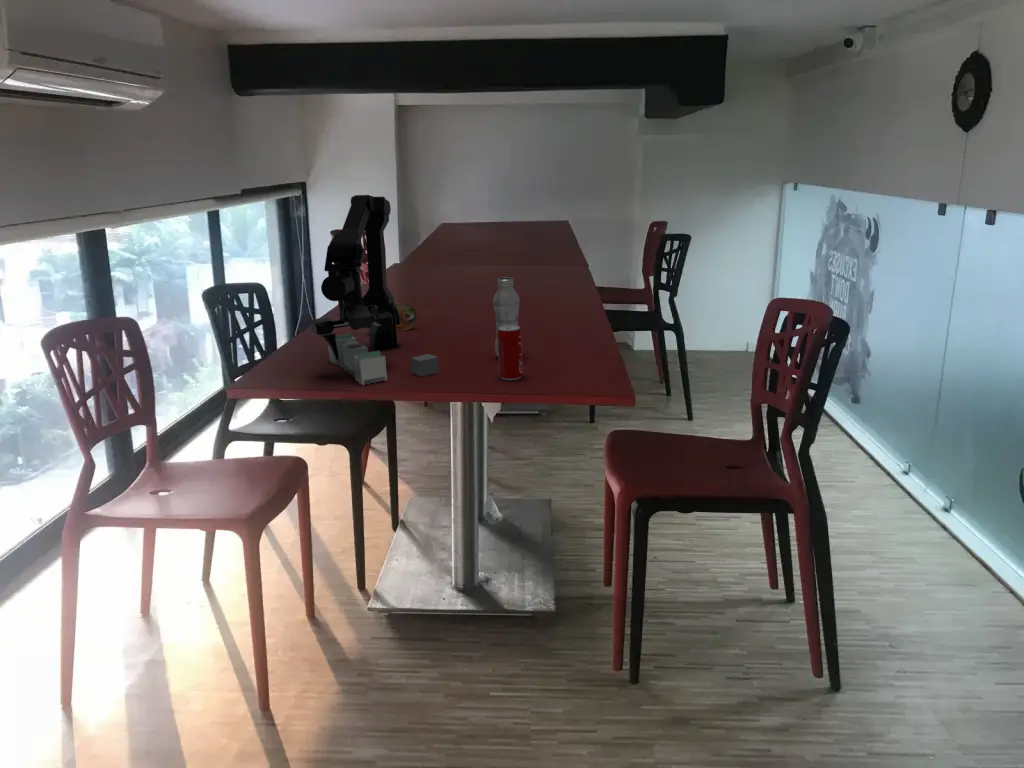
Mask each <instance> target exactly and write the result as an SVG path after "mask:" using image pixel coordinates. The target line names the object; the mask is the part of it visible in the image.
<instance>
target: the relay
mask: <svg viewBox="0 0 1024 768" xmlns="http://www.w3.org/2000/svg"><path fill="white" fill-rule="evenodd" d="M410 361H411V365H410V366H411V374H412V373H413V374H412V375H414V374H416V375H415V376H417V375H418V377H420V376H424V377H426V376H425V375H428V376H431V375H430V374H432V375H435V374H434V373H436V374H439V373H440V369H439V368H440V366H439V356H436V355H433V354H430V353H427V354H426V353H425V354H423V355H418V356H413V357H410ZM438 372H439V373H438Z"/></svg>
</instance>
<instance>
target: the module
mask: <svg viewBox="0 0 1024 768" xmlns="http://www.w3.org/2000/svg"><path fill="white" fill-rule="evenodd" d="M342 345H343V355H344V364H345V365H347V366H348V367H349V368H351V369H352V370H354V360H353V355H357V354H360V353H366V352H369V348H368V347H367V346H365V345H364V344H362V343H361V342H359V341H357V342H354V343H347V344H342Z"/></svg>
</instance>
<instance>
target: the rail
mask: <svg viewBox="0 0 1024 768" xmlns="http://www.w3.org/2000/svg"><path fill="white" fill-rule="evenodd" d="M335 340H336V345H337V350H338V358H339V360H336V358H335V356H334V354H333V352H332V350H331V348H330V346H329V344H328V343H327V350H328V357H329V362H330V363H332V364H333V365H334V364H335V366H338V367H339V366H340V367H339V368H340V369H342V368H343V369H344V370H343V369H342V370H343V371H345V372H346V371H347V372H348V373H347V372H346V373H347V374H349V375H350V374H351V375H352V376H351V375H350V376H351V377H352V378H354V377H355V378H354V379H355V381H356V382H357V381H358V382H359V383H358V382H357V383H358V384H360V385H361V384H362V385H363V386H366V385H365V384H368V385H371V384H370V383H374V384H376V383H375V382H380V381H385V380H387V381H388V374H387V364H386V363H387V361H386V355H384V354H383V353H381V351H380V350H376V351H373V352H372V351H368V352H366V353H360V354H357V355H353V360H354V370H352V369H351V368H349V367H348V366H347V365H345V364H344V355H343V345H342V344H347V343H354V342H358V341H357V337H354V336H353V334H352V333H346V334H340V335H336V338H335ZM385 382H386V381H385ZM380 383H381V382H380ZM362 385H361V386H362Z"/></svg>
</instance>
